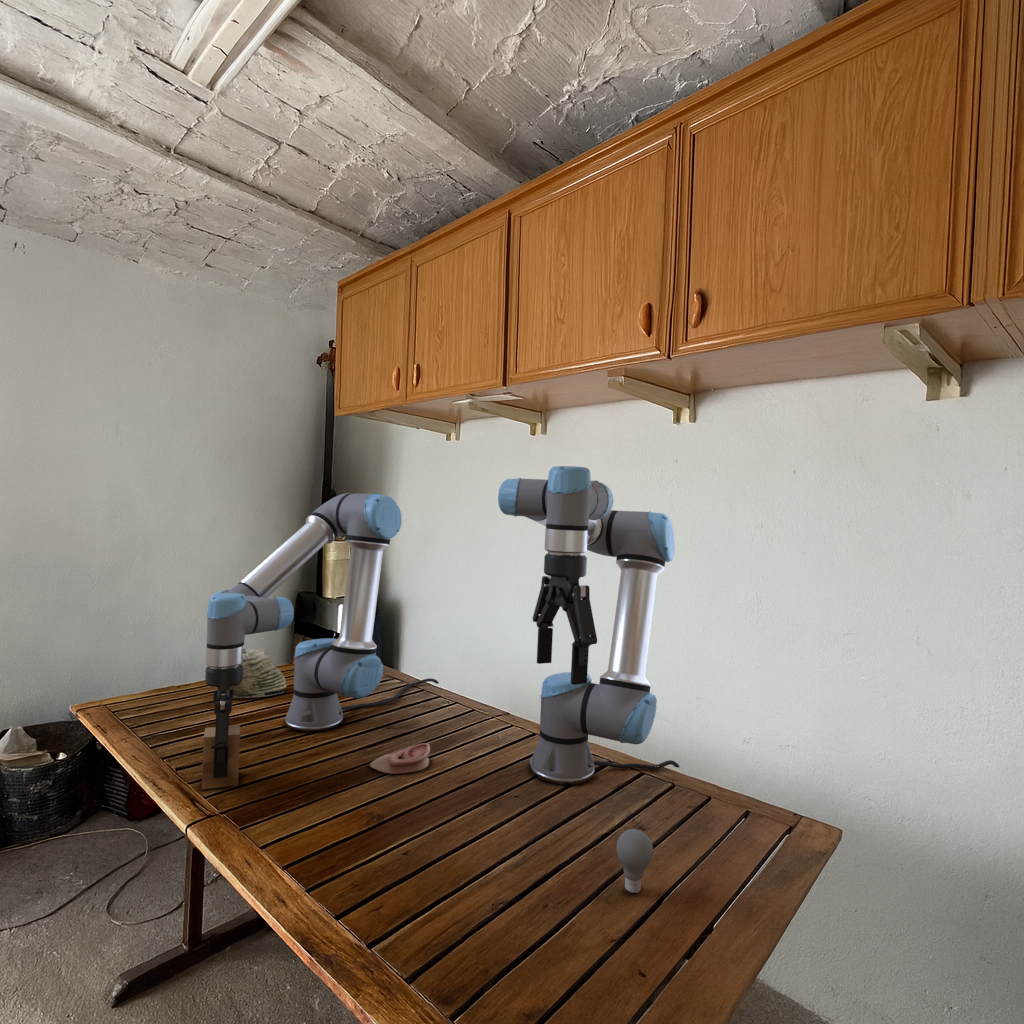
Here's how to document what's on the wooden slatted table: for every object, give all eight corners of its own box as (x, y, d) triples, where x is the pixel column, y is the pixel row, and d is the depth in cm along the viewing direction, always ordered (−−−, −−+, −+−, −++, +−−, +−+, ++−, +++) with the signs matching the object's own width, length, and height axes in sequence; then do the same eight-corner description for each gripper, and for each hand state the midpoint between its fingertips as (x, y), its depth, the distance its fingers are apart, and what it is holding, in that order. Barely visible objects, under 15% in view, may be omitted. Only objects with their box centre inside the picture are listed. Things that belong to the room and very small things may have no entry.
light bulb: (610, 879, 108) (613, 822, 108) (644, 879, 109) (647, 822, 109) (619, 902, 102) (622, 840, 102) (655, 901, 103) (658, 840, 103)
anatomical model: (364, 753, 147) (384, 735, 158) (364, 770, 147) (383, 751, 158) (419, 760, 144) (435, 742, 155) (418, 778, 144) (434, 758, 156)
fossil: (218, 695, 195) (220, 647, 195) (278, 685, 208) (279, 640, 207) (228, 703, 189) (230, 653, 188) (289, 692, 201) (290, 645, 201)
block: (201, 789, 135) (203, 737, 134) (203, 778, 140) (205, 727, 140) (238, 785, 137) (239, 734, 137) (238, 773, 143) (240, 724, 143)
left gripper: (243, 676, 131) (239, 786, 131) (243, 653, 149) (240, 750, 149) (202, 678, 128) (198, 791, 128) (208, 655, 146) (205, 753, 146)
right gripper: (622, 561, 102) (616, 691, 103) (553, 547, 125) (548, 654, 126) (581, 560, 99) (575, 695, 100) (518, 547, 122) (513, 656, 123)
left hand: (221, 769), depth 139 cm, fingers open, 7 cm apart
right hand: (560, 672), depth 113 cm, fingers open, 13 cm apart
